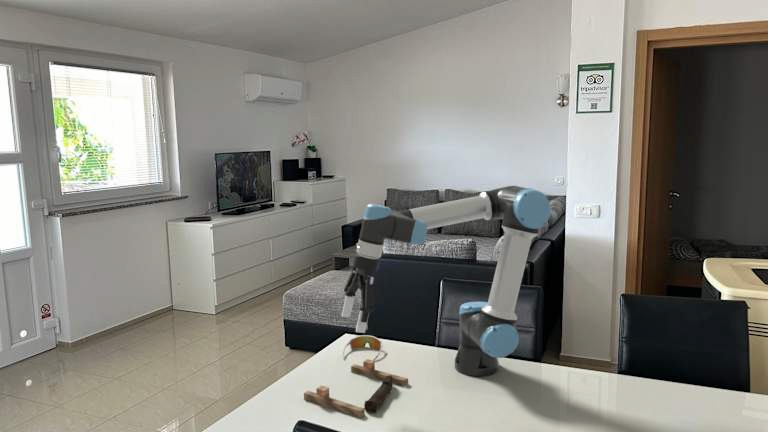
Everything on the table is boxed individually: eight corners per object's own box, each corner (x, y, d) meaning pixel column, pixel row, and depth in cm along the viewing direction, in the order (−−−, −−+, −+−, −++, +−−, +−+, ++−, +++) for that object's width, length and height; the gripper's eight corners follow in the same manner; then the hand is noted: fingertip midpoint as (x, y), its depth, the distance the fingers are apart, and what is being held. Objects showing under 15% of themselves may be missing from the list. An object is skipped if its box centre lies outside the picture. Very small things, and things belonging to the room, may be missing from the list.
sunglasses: (386, 347, 219) (385, 336, 218) (377, 369, 205) (376, 356, 204) (350, 345, 222) (349, 334, 221) (339, 366, 208) (338, 354, 207)
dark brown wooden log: (376, 414, 168) (376, 400, 167) (364, 412, 170) (363, 397, 169) (400, 388, 185) (399, 374, 185) (388, 386, 187) (388, 372, 186)
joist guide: (408, 384, 187) (408, 369, 187) (360, 418, 166) (359, 401, 165) (355, 369, 200) (354, 355, 199) (303, 399, 178) (302, 384, 177)
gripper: (343, 245, 180) (329, 309, 182) (370, 264, 157) (354, 338, 159) (365, 248, 183) (351, 312, 185) (395, 267, 160) (378, 340, 162)
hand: (352, 324), depth 172 cm, fingers open, 13 cm apart
